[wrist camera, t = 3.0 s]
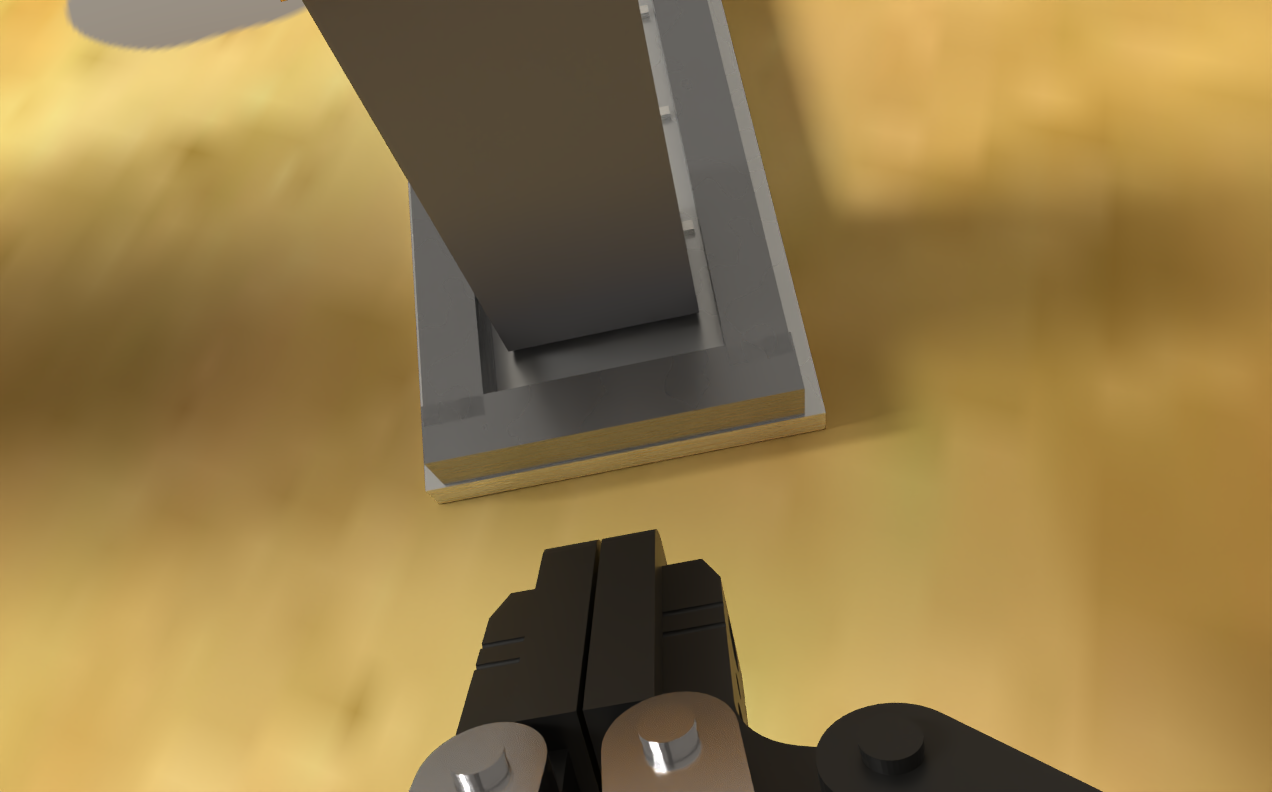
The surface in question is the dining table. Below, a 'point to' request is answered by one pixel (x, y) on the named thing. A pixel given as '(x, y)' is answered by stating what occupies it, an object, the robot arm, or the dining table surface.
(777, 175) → the dining table surface
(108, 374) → the dining table surface
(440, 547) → the dining table surface
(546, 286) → the fader tab
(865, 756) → the robot arm
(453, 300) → the fader console
